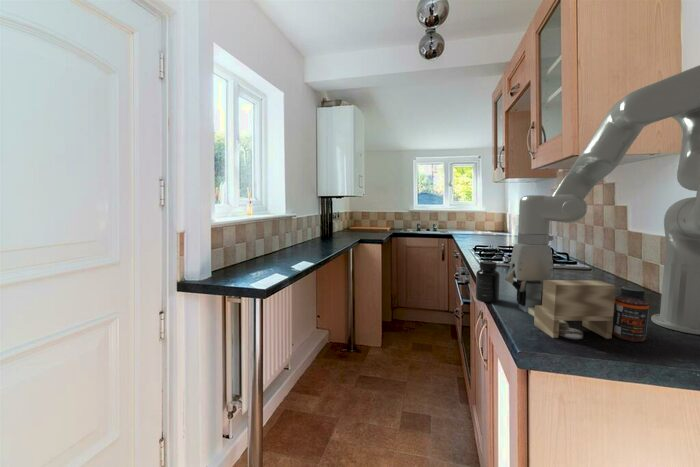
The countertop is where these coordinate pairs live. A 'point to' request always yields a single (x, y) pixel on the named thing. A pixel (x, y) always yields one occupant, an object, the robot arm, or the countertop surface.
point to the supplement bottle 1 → (487, 282)
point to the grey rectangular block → (535, 299)
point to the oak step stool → (576, 306)
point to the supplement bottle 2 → (630, 315)
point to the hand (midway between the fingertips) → (529, 303)
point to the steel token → (570, 333)
